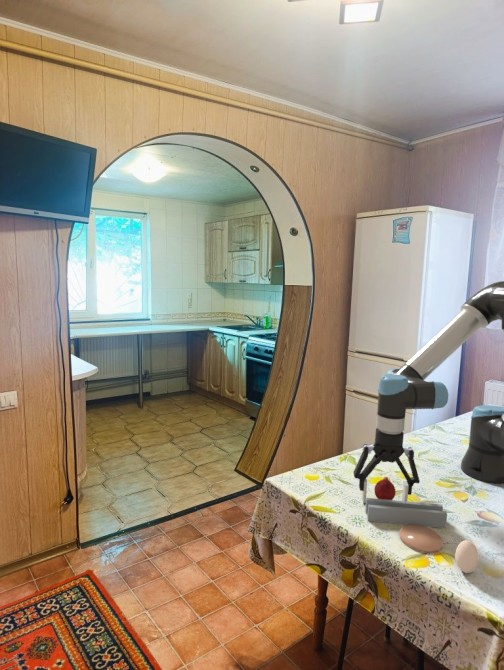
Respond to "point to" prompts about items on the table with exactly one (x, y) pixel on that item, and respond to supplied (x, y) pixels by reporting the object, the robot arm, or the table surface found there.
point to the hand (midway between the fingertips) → (383, 502)
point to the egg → (467, 556)
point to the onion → (385, 489)
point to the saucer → (421, 538)
